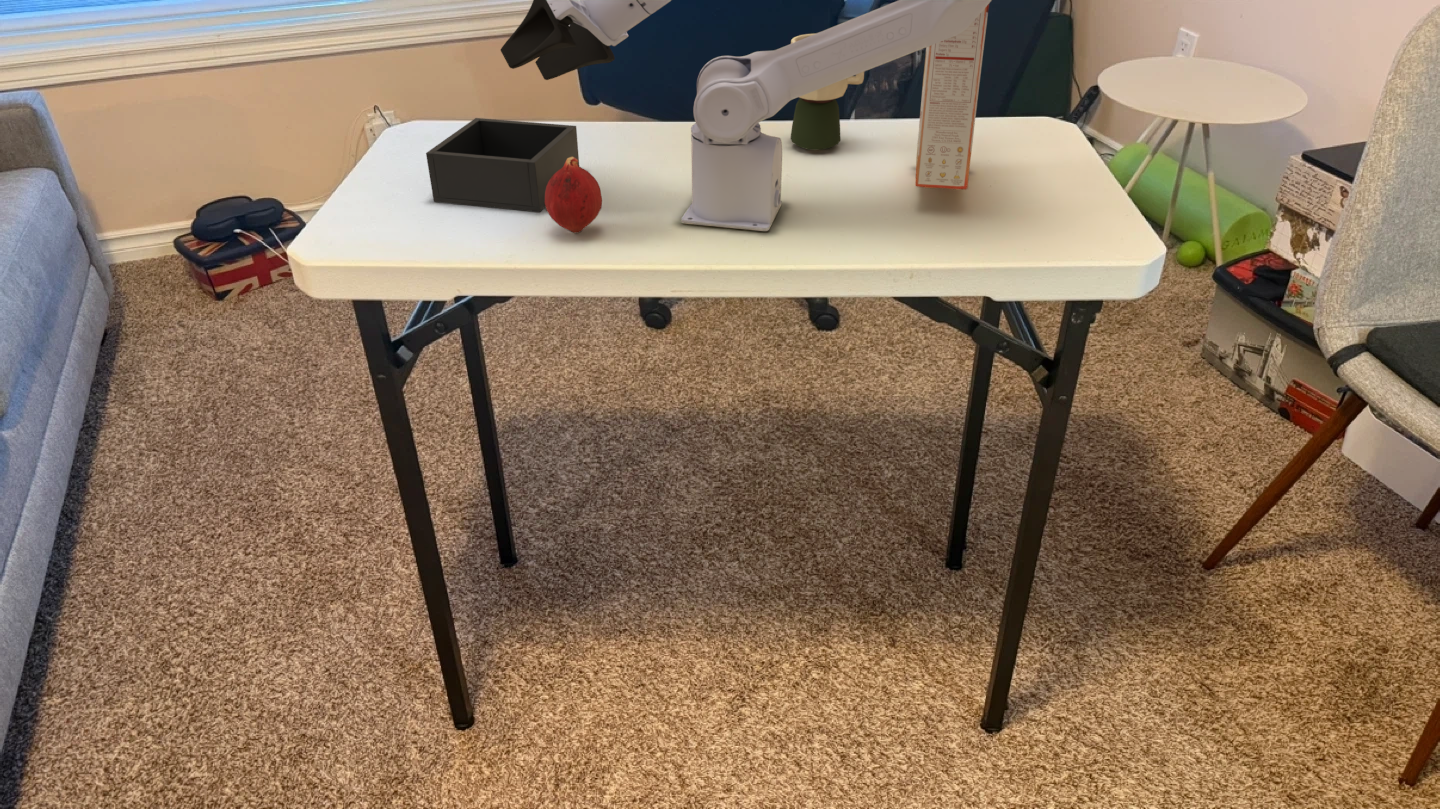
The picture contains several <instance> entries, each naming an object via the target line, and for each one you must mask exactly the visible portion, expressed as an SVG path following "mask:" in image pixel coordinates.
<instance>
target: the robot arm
mask: <svg viewBox="0 0 1440 809" xmlns="http://www.w3.org/2000/svg"><path fill="white" fill-rule="evenodd" d="M671 1H672V0H532V3H531V6H530V7H529V9H528V12H527V13H526V15H525V17H524V18H523V20H522V21H521V23H520V24H519V25H518V27H517V28H516V29H515V30H514V32H513V33H512V34H511V35H510V37H508V38H507V40H506V42H505V43H504V44H503V45H502V46H501V48H500V53H501V54H502V56H503V58H504V60H505V62H506V64H507V65H508V67H509V68H510V69H513V70H514V69H517V68H521V67H523V66H525V65H526V64H529V63H531V62H532V61H534V60H535V61H534V63H535V65H536V66H537V68H538V71H539V72H540V74H541V76H542V78H543V80H545V81H549V80H552V79H556V78H558V77H560V76H563V75H565V74H568V73H570V72H573V71H575V70H578V69H582V68H584V67H589V66H594V65H601V64H609V63H612V62H613V61H615V59H616V57H615V54H614V53H613V50H612V48H611V47H610V46H612V47H616V46H617V45H618V44H620V43H621V42H623V41H624V40H626V39H627V38H628V37H629V34H628V31H630V30H631V29H632V28H634V27H635V26H637V25H638V24H640V23H641V22H642V21H644V20H646V19H647V18H648V17H650V16H651V15H652V14H654V13H656V12H657V11H659V10H660V9H662V8H663V7H664V6H666V5H667V4H669V3H670V2H671ZM992 1H993V0H896V1H894V2H891V3H888V4H886V5H883V6H881V7H879V8H876V9H874V10H871V11H869V12H867V13H864V14H861V15H859V16H856V17H854V18H851V19H849V20H846V21H844V22H842V23H839V24H837V25H834V26H832V27H828V28H827V29H824V30H822V31H819V32H816V33H813V34H814V35H812V36H809V37H807V38H804V39H802V40H799V41H797V42H794V43H792V44H791V43H790V44H787V45H785V46H782V47H780V48H777V49H774V50H760V51H759V50H758V51H754V52H751V53H750V54H747V55H743V56H734V55H721V56H716V57H714V58H712V59H710V60H709V61H708V62H706V63H705V64H704V65H703V67H702V68H701V69H700V71H699V73H698V76H697V79H696V96H695V98H694V102H693V107H692V108H693V109H692V110H693V118H694V122H695V123H693V125H691V127H690V142H691V144H690V147H691V148H690V149H691V150H690V151H691V154H690V155H691V203H690V205H689V206H688V207H687V209H686V211H685V212H684V213H683V215H682V217H681V218H680V222H681V224H688V225H695V226H696V225H698V226H706V227H707V226H709V227H717V228H726V229H727V228H728V229H738V230H747V231H757V232H768V231H769V230H771V227H772V225H773V223H774V221H775V218H776V217H777V214H778V212H779V211H780V208H781V206H782V200H781V199H782V176H783V174H782V173H783V168H782V167H783V142H782V138H780V137H778V136H773V135H769V134H766V133H764V132H761V131H762V130H761V129H762V128H761V125H760V123H761V122H763V121H765V120H767V119H770V118H772V117H774V116H775V115H776V114H777V113H778V112H779V111H781V110H782V109H783V108H784V107H785V106H786V105H787V104H788V103H789V102H791V101H792V100H794V99H797V98H799V97H800V96H803V95H805V94H808V93H810V92H813V91H815V90H818V89H820V88H823V87H826V86H828V85H831V84H833V83H836V82H838V81H841V80H844V79H846V78H849V77H851V76H856V74H859V73H862V72H864V73H865V72H867V71H869V70H871V69H874V68H877V67H880V66H882V65H885V64H888V63H890V62H892V61H895V60H898V59H901V58H902V57H905V56H907V55H910V54H913V53H915V52H918V51H920V50H923V49H926V47H928V46H931V45H933V44H936V43H938V42H941V41H944V40H946V39H949V38H951V37H954V36H956V35H958V34H960V33H962V32H963V31H965V30H966V29H967V28H968V27H969V26H970V25H971V24H972V22H973V21H974V20H975V19H976V18H977V17H978V15H979V14H980V13H981V12H982V11H983V10H984V9H985V7H986V6H987V5H988V4H989V5H990V3H991V2H992Z"/></svg>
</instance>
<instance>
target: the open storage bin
mask: <svg viewBox="0 0 1440 809" xmlns="http://www.w3.org/2000/svg"><path fill="white" fill-rule="evenodd" d="M425 154H426V155H425V156H426V162H427V168H428V174H429V180H430V187H431V193H432V198H433V202H434V203H444V204H454V205H464V206H474V207H483V208H495V209H505V210H516V211H524V212H536V213H541V211H543V210H544V209H545V208H546V206H545V191H546V186H547V184H548V182H549V180H550V179H551V177H552V176H553V175H554V174H555V173H556V172H557V171H558V170H560V169H561V168H562V167H563V166H564V164H565V162H566V160H567V158H570V157H574V158H576V159H577V160H578V163H577V164H578V166H579V167H580V156H579V142H578V131H577V125H569V124H557V123H545V122H533V121H530V122H529V121H519V120H507V119H496V118H495V119H493V118H482V117H475V118H473V119H472V120H471V121H469V122H468V123H466V124H465V125H464V126H462V127H461V128H459V129H458V130H457V131H455V132H453V133H452V134H451V135H449V136H448V137H446V138H445V139H443V141H441V142H439V143H438V144H436V145H435V146H434V147H432V148H431V149H429V150H428V151H426V153H425Z"/></svg>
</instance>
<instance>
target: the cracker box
mask: <svg viewBox="0 0 1440 809" xmlns="http://www.w3.org/2000/svg"><path fill="white" fill-rule="evenodd" d="M989 9H990V3H989V4H988V5H987V6H986V7H985V9H984V10H983V11H982V12H981V13H980V14H979V15H978V17H977V18H976V19H975V20H974V21H973V22H972V24H971V25H970V26H969V27H968V28H967V29H966V30H965V31H963V32H962V33H960V34H958V35H956V36H954V37H951V38H949V39H946V40H944V41H941V42H938V43H936V44H933V45H931V46H928V47H926V48H925V55H924V56H925V58H924V68H923V76H922V89H921V100H920V101H921V102H920V110H919V122H918V134H917V136H918V137H917V145H916V146H917V147H916V148H917V149H916V160H915V183H914V185H915V187H917V188H927V189H946V190H947V189H949V190H967V189H968V187H969V186H968V185H969V177H970V167H971V159H972V151H973V145H974V144H973V143H974V133H975V125H976V124H975V123H976V116H977V108H978V99H979V90H980V84H981V83H980V82H981V74H982V67H983V56H984V50H985V40H986V32H987V25H988V16H989Z"/></svg>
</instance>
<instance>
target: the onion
mask: <svg viewBox="0 0 1440 809" xmlns="http://www.w3.org/2000/svg"><path fill="white" fill-rule="evenodd" d="M577 163H578V160H577V159H576V158H574V157H570V158H567V160H566V162H565V164H564V166H563V167H562V168H561V169H560V170H558V171H557V172H556V173H555V174H554V175H553V176H552V177H551V179H550V180H549V182H548V184H547V186H546V191H545V210H546V212H547V214H548V216H549V217H550V218H551V219H552V220H553V221H554V222H555V223H556V224H557V225H558V226H559V227H561V228H563V229H564V230H567V231H569V232H571V233H573V234H577V233H581V232H582V231H583V230H584V229H585V228H587V227H588V226H589V225H591V223H593V222H594V221H595V220H596V218H597V217H598V216H599V214H600V211H601V210H602V206H603V196H602V190H601V187H600V184H599V182H598V180H596V178H595V177H594V175H593V174H591V173H590V172H589V171H588V170H586V169H585V168H583V167H581V166H580V165H579V166H578V164H577Z"/></svg>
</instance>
